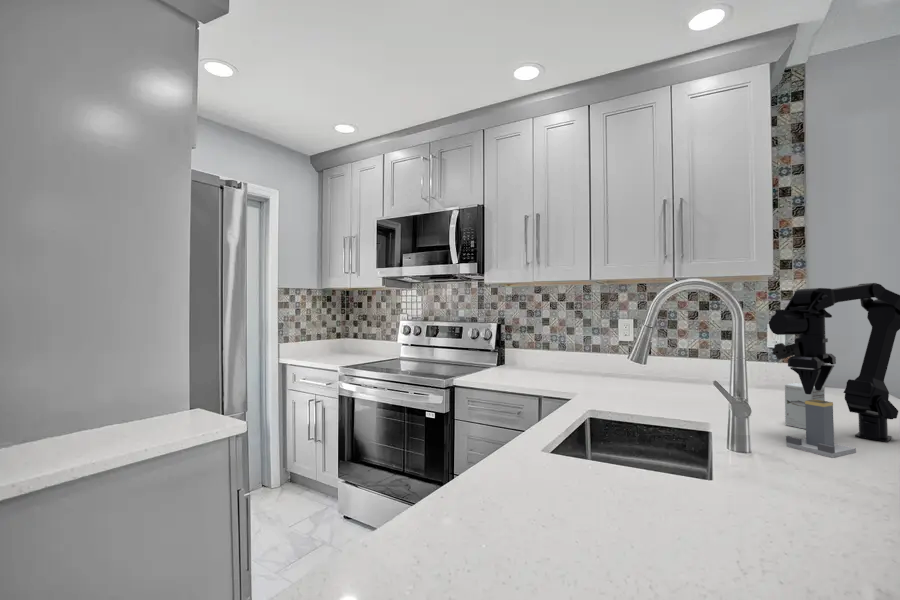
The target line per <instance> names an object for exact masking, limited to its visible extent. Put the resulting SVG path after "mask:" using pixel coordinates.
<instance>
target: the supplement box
mask: <svg viewBox="0 0 900 600" xmlns="http://www.w3.org/2000/svg"><path fill="white" fill-rule="evenodd" d="M814 399H815V400H821V401H826V399H825V386H824V385H823V387H822V389H821V391H818V390H815V386H814V388H813V391H812V393H811V394H805V391H804V388H803V386H802V383H801V382H794V383H793V382H792V383H785V384H784V410H785V411H784V415H785V416H784V417H785V418H784V420H785V423H784V424H785V426H789V427H795V428H799V429H804V430H806V411H805V401H807V400H814Z"/></svg>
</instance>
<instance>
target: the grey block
mask: <svg viewBox="0 0 900 600" xmlns="http://www.w3.org/2000/svg"><path fill="white" fill-rule="evenodd" d="M805 411H806V429H805V436H806V438H805V439H806V444H809V445H813V446H817V447H818V444H819V443H821V444H825V445H830V446H834V443H835V432H834V431H835V427H834V425H835V424H834V423H835V422H834V402H833V401H826V400H825V401H821V400H815V399H814V400H807V401H805Z"/></svg>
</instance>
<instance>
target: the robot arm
mask: <svg viewBox="0 0 900 600" xmlns="http://www.w3.org/2000/svg"><path fill="white" fill-rule="evenodd" d="M873 298H876V299H873ZM855 300H860V307H862V308H863V309H864V310H865V311H866V312H867V315H866V316H867V320H868V322H869V324H870V325H871V330H870V334H869V338H868V342H867V346H866V348H865V349H866V350H865V352H864V357H863V361H862V365H861V368H860V371H859V375H858V376H857V377H856V378H855V379H850V378H849V379H848V380H847V381H846V386H845V389H844V391H843V393H844V400H845V402H846V406H847V408H848V411H849V413H854V414H858V415H857V416H858V432H857V433H856V434H854V437H856V438H859V439H860V438H862V439H866V440H871V441H877V442H878V441H879V442H885V443H886V442H887V443H888V442H889V441H890V440H891V439H892V438H893V436H891V435H888V433H889V432H888V431H889V430H888V420H894V419H898V415H899V410H898V409H897V407H895V406H894V404H893V403H892V402H891V401H890V400H889V397H890V392H889V390H888V387H887V385H886V382H885V377H886V375H887V370H888V366H889V362H890V359H891V356H892V355H891V354H892V351H893V348H894V343H895V341H896V336H897V333H898V331H900V294H899V293H897V292H893V291H891V290H889V289H887V288H885V287H884V286H883V285H882V284H880V283H877V282H870V283H867V282H866V283H859V284H856V285H850V286H843V287H835V288H825V287H816V288H813V287H812V288H801V289H800V288H799V289H797V290H795V291H794V294H793V296H792V297H791V299H790V300H789V302H788V303H787V305H786V306H785V308H784V309H775V314H774V315H772V316H771V317H770V320H769V322H768V327H769V329H770V331H771V332H772V333H773V334H775V335H777V336H779V335H780V336H782V335H785V336H787V335H789V336H790V335H791V336H792V335H798V337H796V338H795V339H794V343H792V344H791V343H790V344H786V345H785V343H783V342H780V343H775V344H774V348H772V354H773V355H774V356H775V358H776V360H777V361H778V360H784V359H787V367H789V369H790V370H792V371H793V372H794V373H796V374H797V375H798V377H799V380H800V383H801V384H802V386H803V388H804V391H805V394H811V393H812V391H813V388H814V386H815V390H818V391H821V389H822V387H823V386H824V385H825V383H826V381H827V379H828V377H829V376H830V374H831V372H832V371H833V369H834V367H835V365H836V364H837V362H836V361H837V359H836V358H837V357H836V356H835V355H834V354H833V353H829V352H827V345H826V344H827V343H828V342H829V339H828V338H827V337H826V318H827V319H829V318H833V315H832V314H831V313H830V312H828V311H827V310H826V309H827V308H830V307H832V306H834V305H835V304H837V303H843V302H849V301H855Z"/></svg>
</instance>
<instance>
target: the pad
mask: <svg viewBox="0 0 900 600" xmlns="http://www.w3.org/2000/svg"><path fill="white" fill-rule="evenodd" d="M785 437H786V439H785V444H786V447H789V448H792V449H796V450H801V451H805V452H808V453H812V454H816V455H820V456H825V457H828V458H831V459H833V458H837V457H842V456H847V455H851V454H855V453H856V452H857V449H856V447H852V446H848V445H844V444H838V443H835V442H834V446H830V445H825V444H821V443H819V444H818V447H817V446H813V445H809V444H806V438H799V437H795V436H791V435H787V436H785Z"/></svg>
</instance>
